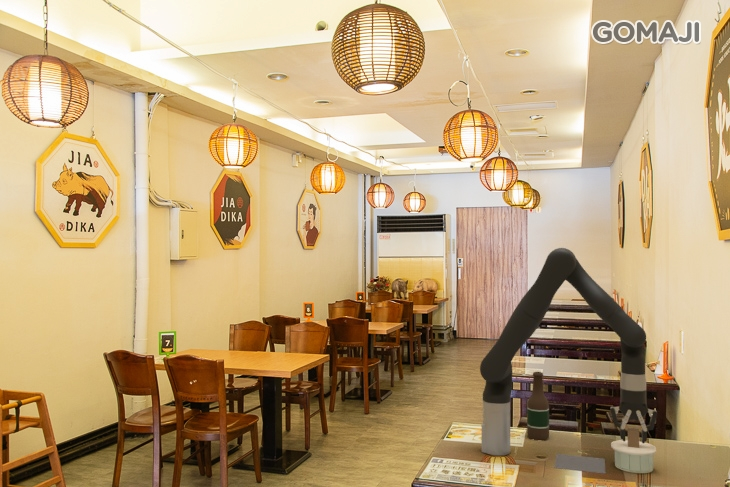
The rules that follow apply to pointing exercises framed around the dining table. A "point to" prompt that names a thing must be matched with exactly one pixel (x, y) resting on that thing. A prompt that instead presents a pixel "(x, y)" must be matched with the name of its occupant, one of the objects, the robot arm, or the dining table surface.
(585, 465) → the mat
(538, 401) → the beer bottle
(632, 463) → the bowl
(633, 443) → the lid
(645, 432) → the robot arm
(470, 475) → the dining table surface
